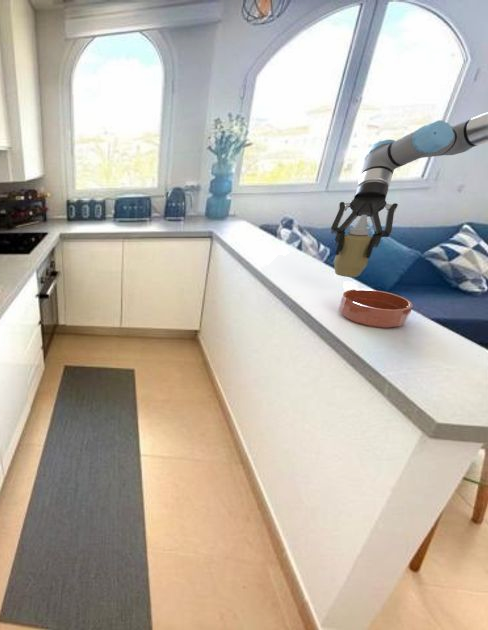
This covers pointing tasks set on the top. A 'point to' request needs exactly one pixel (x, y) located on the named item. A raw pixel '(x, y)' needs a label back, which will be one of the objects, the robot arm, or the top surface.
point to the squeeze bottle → (354, 250)
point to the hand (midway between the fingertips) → (352, 254)
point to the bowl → (375, 308)
